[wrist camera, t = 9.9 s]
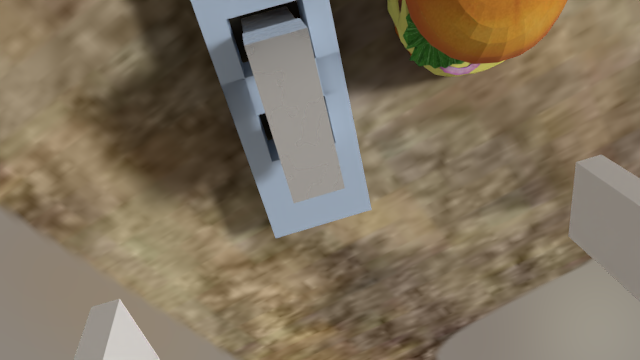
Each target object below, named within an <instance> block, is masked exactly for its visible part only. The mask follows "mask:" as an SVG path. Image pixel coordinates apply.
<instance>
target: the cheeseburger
mask: <svg viewBox="0 0 640 360" xmlns="http://www.w3.org/2000/svg"><path fill="white" fill-rule="evenodd" d="M566 2H567V0H388V12H389V14H390V15H391V17H392V19H393V21H394V26H395V31H396V34H397V35H398V37H399V38H400V40H401V42H402V43H403V45H404V47H405V48H406V49H407V50H408V52H409V53H410V55H411V57H410V60H411V61H415V62H416V64H417V65H418V66H424V67H425V68H426V69H428V70H429V71H431V72H432V73H433V74H435V75H441V76H447V77H451V76H462V75H466V74H474V73H477V72H481V71H484V70H487V69H489V68H491V67H493V66H496V65H498V64H500V63H502V62H503V61H505V60H507V59H510V58H513V57H516V56H519V55H521V54H523V53H524V52H526V51H527V50H529V49H530V48H532V47H533V46H535V45H536V44H537V43H538V42H539V41H540V40H541V39H542V38H543V37H544V36H545V35H546V34H547V33H548V31H549V30H550V29H551V27H552V26H553V24H554V23H555V21H556V20H557V18H558V17H559V15H560V14H561V12H562V10H563V8H564V6H565V4H566Z"/></svg>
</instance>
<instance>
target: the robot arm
mask: <svg viewBox="0 0 640 360" xmlns="http://www.w3.org/2000/svg"><path fill="white" fill-rule="evenodd" d="M569 237H570V238H571V239H572V240H573V241H574V242H575V243H576V244H578V245H579V246H580V247H581V248H582V249H583V250H584V251H585V252H586V253H587V254H588V255H590V256H591V257H592V258H593V259H594V260H595V261H596V262H597V263H598V264H600V265H601V267H603V268H604V269H605V270H606V271H607V272H608V273H609V274H610V275H611V276H612V277H613V278H615V279H616V280H617V281H618V282H619V283H620V284H621V285H622V286H623V287H624V288H625V289H627V290H628V291H629V292H630V293H631V294H632V295H633V296H634V297H635V298H636V299H637V300H639V301H640V178H638V177H637V176H635V175H633V174H632V173H630V172H629V171H627V170H625V169H624V168H622V167H621V166H619V165H617V164H616V163H614V162H612V161H611V160H609V159H608V158H606V157H604V156H603V155H598V156H595V157H592V158H588V159H585V160H582V161H578V162H576V168H575V178H574V187H573V197H572V207H571V217H570V227H569ZM74 360H160V359H159V357H158V356H157V354H156V353H155V351H154V350H153V348H152V347H151V345H150V344H149V342H148V341H147V339H146V338H145V336H144V335H143V333H142V332H141V330H140V329H139V327H138V326H137V324H136V323H135V321H134V320H133V318H132V317H131V315H130V314H129V312H128V311H127V309H126V308H125V306H124V305H123V303H122V302H121V300H120V299H117V300H113V301H110V302H107V303H104V304H100V305H96V306H93V307H92V308H91V310H90V313H89V316H88V319H87V322H86V325H85V328H84V331H83V334H82V337H81V340H80V343H79V346H78V348H77V351H76V355H75V357H74Z"/></svg>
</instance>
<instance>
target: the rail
mask: <svg viewBox="0 0 640 360" xmlns="http://www.w3.org/2000/svg"><path fill="white" fill-rule="evenodd" d="M190 1H191V3H192V6H193V9H194V12H195V15H196V17H197V20H198V23H199V26H200V28H201V31H202V34H203V37H204V40H205V42H206V45H207V48H208V51H209V54H210V56H211V59H212V62H213V65H214V67H215V70H216V73H217V76H218V79H219V81H220V84H221V87H222V90H223V93H224V95H225V98H226V101H227V104H228V107H229V109H230V112H231V115H232V118H233V120H234V123H235V126H236V129H237V132H238V134H239V137H240V140H241V143H242V146H243V148H244V151H245V154H246V157H247V159H248V162H249V165H250V168H251V171H252V173H253V176H254V179H255V182H256V185H257V187H258V190H259V193H260V196H261V199H262V201H263V204H264V207H265V210H266V212H267V215H268V218H269V221H270V224H271V226H272V229H273V232H274V235H275V238H279V237H282V236H285V235H289V234H292V233H295V232H299V231H302V230H305V229H309V228H312V227H315V226H319V225H322V224H325V223H329V222H332V221H335V220H339V219H342V218H345V217H349V216H352V215H355V214H359V213H362V212H365V211H369V210H371V205H370V200H369V195H368V190H367V185H366V180H365V175H364V170H363V165H362V160H361V155H360V150H359V145H358V140H357V136H356V131H355V126H354V121H353V116H352V111H351V106H350V101H349V96H348V91H347V86H346V81H345V76H344V71H343V66H342V61H341V56H340V51H339V46H338V41H337V36H336V31H335V27H334V22H333V17H332V12H331V7H330V2H329V0H296V1H297V6H298V10H299V14H300V18H301V20H302V21H303V23H304V24H305V25H306V26H307V28H308V32H309V36H310V41H311V45H312V49H313V53H314V58H315V62H316V66H317V71H318V75H319V79H320V83H321V88H322V92H323V96H324V100H325V105H326V109H327V113H328V118H329V122H330V126H331V130H332V135H333V139H334V143H335V148H336V152H337V156H338V160H339V165H340V169H341V173H342V178H343V182H344V186H345V188H344V189H341V190H337V191H334V192H330V193H327V194H324V195H320V196H317V197H314V198H310V199H307V200H304V201H300V202H297V203H293V200H292V196H291V193H290V190H289V187H288V184H287V180H286V177H285V174H284V171H283V168H282V165H281V161H280V158H279V155H278V152H277V149H276V145H275V142H274V139H271V140H267V137H266V134H265V131H264V127H263V124H262V121H261V118H260V114H263V113H265V110H264V107H263V104H262V101H261V98H260V94H259V91H258V88H257V85H256V82H255V79H254V75H253V72H252V69H251V66H250V63H249V61H247V62H244V63H243V62H242V59H241V56H240V53H239V50H238V47H237V44H236V41H235V38H234V34H233V31H232V28H231V25H230V22H229V19H230V18H234V17H237V16H241V15H244V14H248V13H252V12H255V11H259V10H263V9H266V8H270V7H273V6H277V5H281V4H284V3H288V2H291V1H295V0H190Z"/></svg>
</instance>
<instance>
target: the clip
mask: <svg viewBox="0 0 640 360" xmlns="http://www.w3.org/2000/svg"><path fill="white" fill-rule="evenodd" d="M241 23H242V28H243V34H242V36H243V42H244V47H245V50H246V53H247V56H248V59H249V63H250V66H251V69H252V72H253V75H254V79H255V82H256V85H257V88H258V91H259V94H260V98H261V101H262V104H263V107H264V110H265V114H266V117H267V120H268V123H269V126H270V129H271V133H272V136H273V139H274V142H275V145H276V149H277V152H278V155H279V158H280V161H281V165H282V168H283V171H284V174H285V177H286V180H287V184H288V187H289V190H290V193H291V196H292V200H293V203H297V202H300V201H304V200H307V199H310V198H314V197H317V196H320V195H324V194H327V193H330V192H334V191H337V190H341V189H344V188H345V186H344V182H343V178H342V173H341V169H340V165H339V160H338V156H337V152H336V148H335V143H334V139H333V135H332V130H331V126H330V122H329V118H328V113H327V109H326V105H325V100H324V96H323V92H322V88H321V83H320V79H319V75H318V71H317V66H316V62H315V58H314V53H313V49H312V45H311V41H310V36H309V32H308V28H307V26H306V25H305V24H304V23H303V21H302V20H301V19H300V18H297V19H295V18H294V16H293V15H292V14H291V12H290V11H289V10H288V8H287V7H286V6H284V7H280V8H277V9H273V10H270V11H266V12H262V13H259V14H255V15H252V16H248V17H244V18H241Z"/></svg>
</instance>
